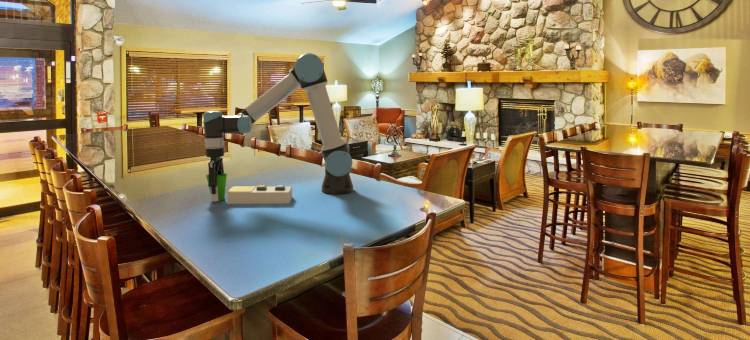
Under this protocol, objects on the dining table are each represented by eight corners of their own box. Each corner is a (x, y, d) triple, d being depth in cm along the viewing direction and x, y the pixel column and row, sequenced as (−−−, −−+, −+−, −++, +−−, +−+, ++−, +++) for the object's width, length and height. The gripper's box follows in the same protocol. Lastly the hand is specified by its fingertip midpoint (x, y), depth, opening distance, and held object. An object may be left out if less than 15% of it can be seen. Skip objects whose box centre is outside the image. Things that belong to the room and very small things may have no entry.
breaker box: (292, 197, 214) (292, 185, 213) (289, 203, 203) (288, 191, 202) (233, 197, 212) (233, 186, 211) (227, 203, 201) (227, 191, 200)
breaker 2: (285, 198, 210) (284, 184, 209) (284, 200, 206) (283, 186, 205) (276, 198, 210) (276, 185, 208) (275, 200, 206) (275, 186, 205)
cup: (222, 202, 202) (220, 177, 200) (203, 201, 204) (201, 176, 202) (232, 197, 211) (231, 173, 209) (214, 196, 213) (212, 172, 211)
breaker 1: (266, 198, 209) (266, 185, 208) (265, 201, 206) (264, 186, 205) (258, 198, 209) (258, 185, 208) (257, 201, 206) (256, 186, 204)
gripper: (213, 143, 214) (216, 192, 218) (197, 151, 192) (201, 204, 197) (229, 143, 214) (232, 192, 218) (216, 151, 193) (220, 204, 197)
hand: (218, 198), depth 207 cm, fingers closed on cup, 9 cm apart
